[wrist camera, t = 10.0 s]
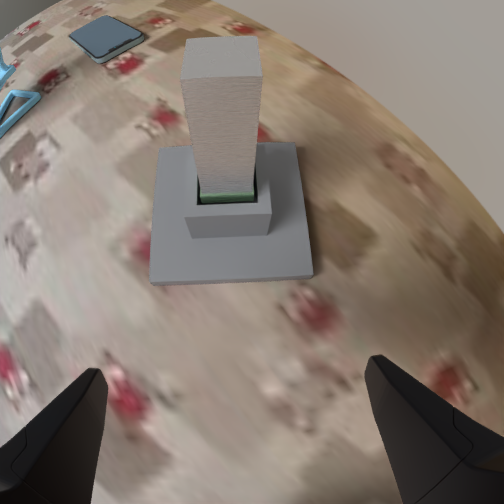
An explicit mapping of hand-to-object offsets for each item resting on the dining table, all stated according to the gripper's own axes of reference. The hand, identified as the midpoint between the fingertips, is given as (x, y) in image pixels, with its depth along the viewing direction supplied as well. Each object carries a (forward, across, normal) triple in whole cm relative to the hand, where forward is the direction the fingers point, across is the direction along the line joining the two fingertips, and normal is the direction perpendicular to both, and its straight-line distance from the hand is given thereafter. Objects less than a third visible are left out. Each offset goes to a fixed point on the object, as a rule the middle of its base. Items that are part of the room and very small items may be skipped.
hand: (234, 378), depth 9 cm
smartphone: (+40, +18, -21) cm, 49 cm away
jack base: (+18, 0, 0) cm, 18 cm away
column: (+15, 0, -3) cm, 15 cm away
